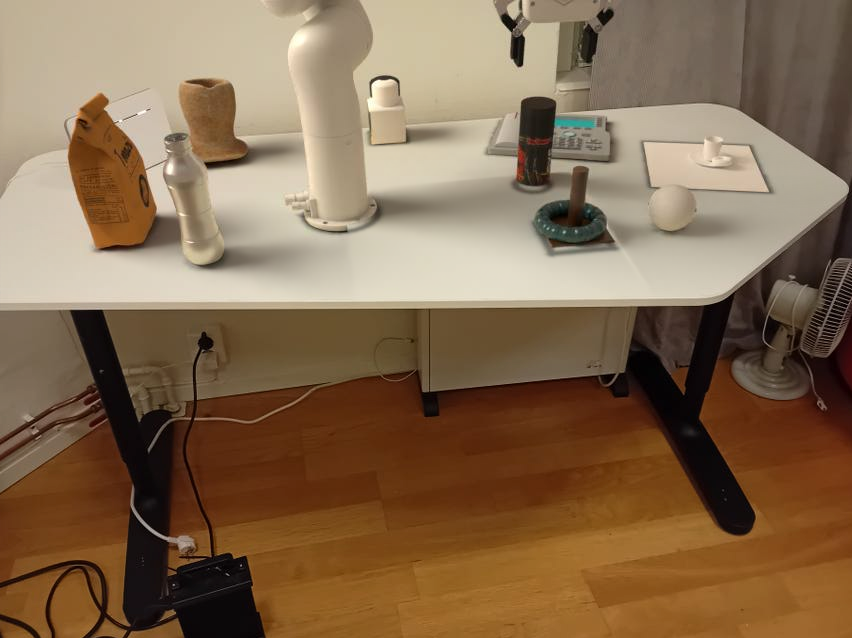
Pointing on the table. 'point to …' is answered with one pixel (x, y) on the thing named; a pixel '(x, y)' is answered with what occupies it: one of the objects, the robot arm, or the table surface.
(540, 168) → the deodorant
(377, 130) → the medicine bottle
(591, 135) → the office telephone
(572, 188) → the post
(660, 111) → the table surface
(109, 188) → the coffee package
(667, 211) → the beige ovoid
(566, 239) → the ring
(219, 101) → the tan upright hollow piece
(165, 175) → the plastic bottle
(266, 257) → the table surface
